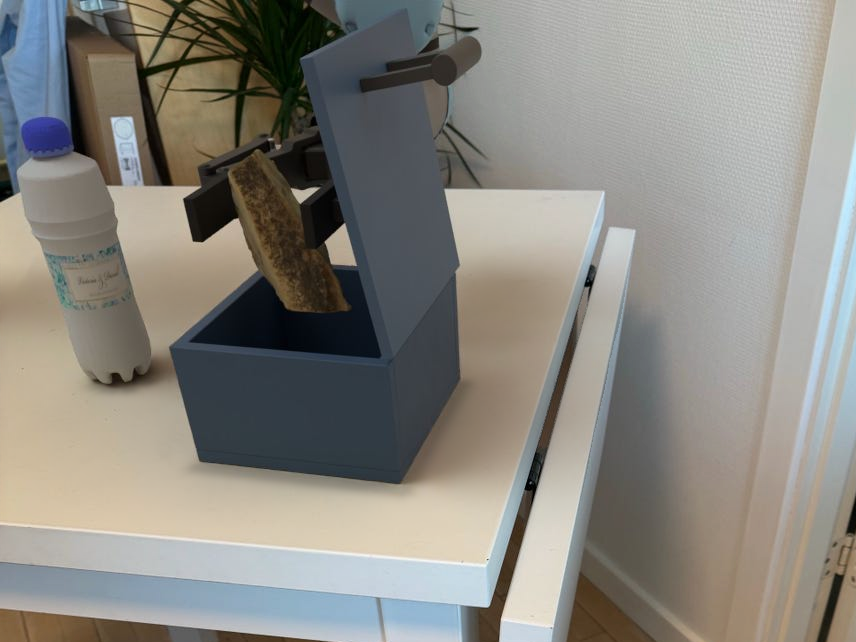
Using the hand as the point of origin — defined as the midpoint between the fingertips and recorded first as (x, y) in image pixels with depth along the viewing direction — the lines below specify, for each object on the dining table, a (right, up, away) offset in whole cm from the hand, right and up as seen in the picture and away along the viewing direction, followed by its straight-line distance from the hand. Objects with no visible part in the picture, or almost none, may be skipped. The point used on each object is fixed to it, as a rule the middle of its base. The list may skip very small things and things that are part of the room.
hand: (250, 223), depth 59 cm
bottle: (-17, -4, +21) cm, 27 cm away
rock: (+2, -2, +7) cm, 8 cm away
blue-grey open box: (+4, -9, +14) cm, 17 cm away
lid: (+9, +3, +1) cm, 10 cm away
